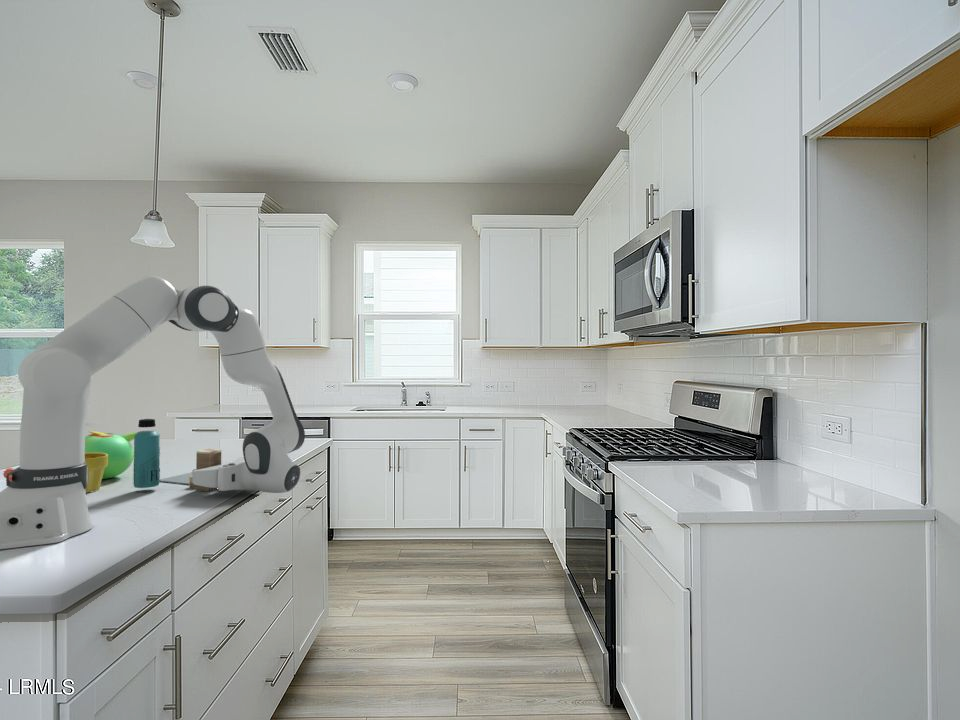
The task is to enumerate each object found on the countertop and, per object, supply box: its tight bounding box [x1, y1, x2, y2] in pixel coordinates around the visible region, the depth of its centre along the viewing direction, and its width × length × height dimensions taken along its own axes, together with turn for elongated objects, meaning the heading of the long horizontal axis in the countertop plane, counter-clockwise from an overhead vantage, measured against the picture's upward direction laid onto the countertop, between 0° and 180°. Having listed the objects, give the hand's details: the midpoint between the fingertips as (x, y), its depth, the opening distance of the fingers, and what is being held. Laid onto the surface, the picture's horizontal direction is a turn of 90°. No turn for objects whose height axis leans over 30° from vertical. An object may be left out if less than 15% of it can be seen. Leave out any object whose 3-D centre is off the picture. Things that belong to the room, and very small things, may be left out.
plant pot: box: [85, 453, 108, 493], centre depth 156 cm, size 10×10×10 cm
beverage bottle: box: [132, 418, 161, 489], centre depth 157 cm, size 6×7×20 cm
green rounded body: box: [85, 430, 139, 480], centre depth 173 cm, size 18×17×15 cm
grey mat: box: [159, 471, 193, 486], centre depth 174 cm, size 14×14×1 cm
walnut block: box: [195, 448, 222, 492], centre depth 161 cm, size 4×4×11 cm
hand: (206, 469), depth 161 cm, fingers open, 7 cm apart
